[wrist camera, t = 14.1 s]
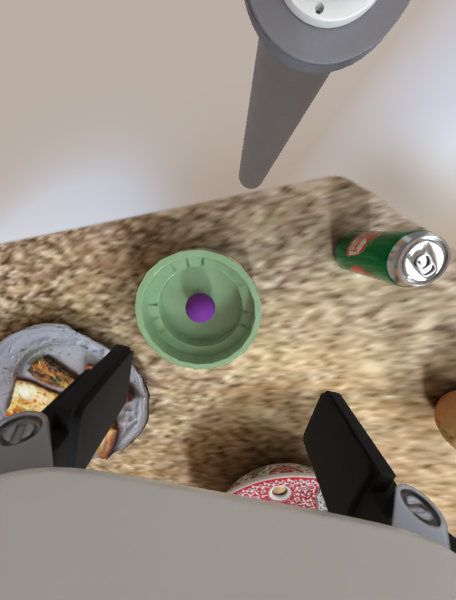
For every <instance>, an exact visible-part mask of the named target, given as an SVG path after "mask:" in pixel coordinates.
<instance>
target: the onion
mask: <svg viewBox="0 0 456 600" xmlns="http://www.w3.org/2000/svg"><path fill="white" fill-rule="evenodd" d="M434 415H435V422H436V425H437V427H438V429H439V431H440V433H441V434H442V436H443V437H444V438H445V439H446V441H447V442H449V444H450V445H452V446H453V447H454V448H455V449H456V391H451V392H448V393H446V394H445V395H443V396H442V397H441V398H440V400H439V401H438V403H437V405H436V408H435V413H434Z"/></svg>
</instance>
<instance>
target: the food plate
mask: <svg viewBox="0 0 456 600" xmlns="http://www.w3.org/2000/svg"><path fill="white" fill-rule="evenodd" d="M68 327H69V328H70V329H69V328H68ZM71 329H72V328H71V327H70V326H68V325H65V324H58V323H57V324H56V323H55V324H54V323H42V324H36V325H33V326H30V327H27V328H25V329H24V330H22V331H18V332H16V333H14V334H11V335H9V336H7V338H5V339H4V340H3V341H1V342H0V420H2V419H4V418H6V417H8V416H10V415H13V414H16V413H19V412H24V411H38V412H41V411H42V410H43V409H44V408H45V407H46V406H47V405H49V404H50V403H51V402H52V401H53V400H54V399H55V398H56V397H57V396H58V395H59V394H60V393H61V392H62V391H63V390H64V389H66V388H67V387H68V386H69V385H70V384H71V383H72V382H73V381H74V380H75V379H76V378H77V377H78V376H79V375H80V374H81V373H83V372H84V371H85V370H86V369H92V368H93V367H94V366H95V365H96V364H97V363H98V362H99V361H100V360H102V359H103V358H104V357H105V356H106V355H107V354H108V353H109V352H110V351H111V349H110V348H108V347H106V346H104V345H103V344H101V343H98V342H96V341H94V340H92V339H91V338H89V337H88V336H85V335H82V334H80V333H76V332H75V331H74V330H73V329H72V330H71ZM143 381H144V380H143V377H142V376H141V375H139V374H138V373H137V367H136V366H135V365H134V364H133V363H132V367H131V374H130V381H129V388H128V395H127V400H126V403H125V405H124V407H123V408H122V410H121V412H120V413H119V415H118V417H117V418H116V420H115V421H114V423H113V425H112V426H111V428H110V430H109V431H108V433H107V434H106V436H105V438H104V439H103V441H102V443H101V444H100V446H99V447H98V449H97V451H96V452H95V454H94V456H93V457H92V458H99V457H100V458H102V459H103V458H104V459H106V460H107V459H108V458H109V457H110V456H111V455H112V454H113V453H115V452H116V451H119V450H122V449H124V448H126V447H127V446H128V445H129V444H131V443H132V442H133V441H134V439H136V438H137V437H138V436H139V435H140V434H141V432H142V431H143V429H144V428H145V427H146V424H147V422H148V418H149V417H148V416H149V397H150V394H149V392H148V388H147V386H146V383H147V382H146V383H145V385H144V384H143V383H144V382H143Z"/></svg>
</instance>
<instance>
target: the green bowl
mask: <svg viewBox="0 0 456 600" xmlns="http://www.w3.org/2000/svg"><path fill="white" fill-rule="evenodd" d="M196 293H204V294H207V295H209V296H210V297H211V298H212V299H213V301H214V303H215V313H214V315H213V317H212V318H211V319H210V320H208V321H206V322H203V323H197V322H194V321H192V320H191V319H190V318H189V317H188V316H187V314H186V310H185V306H186V302H187V300H188V299H189V298H190V297H191V296H192V295H194V294H196ZM135 313H136V318H137V323H138V328H139V329H140V331H141V333H142V335H143V337H144V338H145V340H146V342H147V343H148V345H149V346H150V347H151V348H152V349H154V350H155V351H156V352H157V353H158V354H159V355H160V356H161V357H163V358H164V359H166V360H168V361H170V362H172V363H174V364H176V365H178V366H182V367H187V368H192V369H209V368H216V367H219V366H222V365H224V364H227V363H230V362H232V361H233V360H235V359H236V358H237V357H239V356H240V355H241V354H243V353H244V352H245V351H246V350H247V349H248V347H249V346H250V344H251V343H252V342H253V340H254V339H255V337H256V335H257V332H258V329H259V325H260V322H261V300H260V297H259V294H258V292H257V289H256V287H255V284H254V282H253V280H252V278H251V276H250V274H249V273H248V272H247V271H246V269H245V268H244V267H243V266H242V265H241V263H240V262H239V261H237V260H236V259H234V258H233V257H231V256H229V255H228V254H226V253H225V252H222V251H218V250H214V249H210V248H206V247H202V248H189V249H185V250H182V251H179V252H177V253H174V254H172V255H170V256H167V257H165V258H163V259H161V260H160V261H158V262H157V263H156V264H155V265H154V266H153V267H152V268H151V269H150V270H149V271H148V272H147V273H146V274H145V276H144V278H143V280H142V282H141V284H140V286H139V288H138V289H137V295H136V302H135Z"/></svg>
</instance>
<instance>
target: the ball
mask: <svg viewBox="0 0 456 600" xmlns="http://www.w3.org/2000/svg"><path fill="white" fill-rule="evenodd" d="M185 310H186V314H187V316H188V317H189V318H190V319H191V320H192V321H194V322H197V323H203V322H206V321H208V320H210V319H211V318H212V317H213V315H214V313H215V303H214V301H213V299H212V298H211V297H210V296H209V295H207V294H204V293H196V294H194V295H192V296H191V297H190V298H189V299H188V300H187V302H186V306H185Z"/></svg>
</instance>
